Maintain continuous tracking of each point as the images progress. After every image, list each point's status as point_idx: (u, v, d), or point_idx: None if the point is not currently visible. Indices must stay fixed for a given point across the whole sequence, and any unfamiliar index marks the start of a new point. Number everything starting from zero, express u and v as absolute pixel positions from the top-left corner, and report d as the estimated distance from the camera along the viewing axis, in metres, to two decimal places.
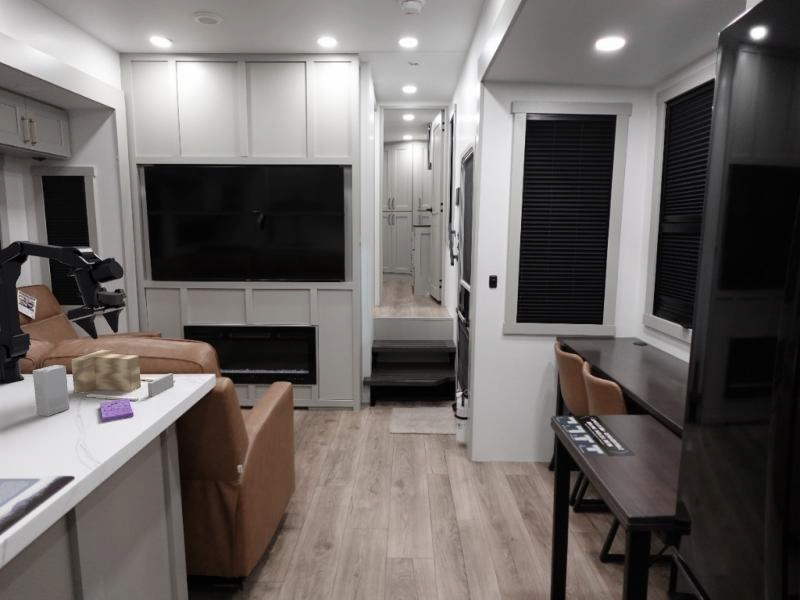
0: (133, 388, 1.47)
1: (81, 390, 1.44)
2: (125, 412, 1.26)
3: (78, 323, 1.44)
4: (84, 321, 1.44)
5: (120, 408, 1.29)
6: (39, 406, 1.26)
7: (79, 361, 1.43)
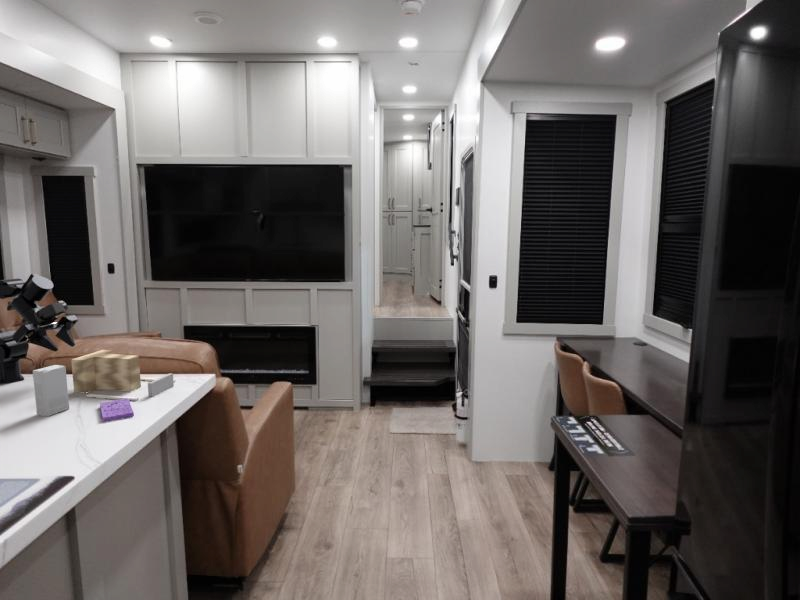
0: (133, 388, 1.47)
1: (81, 390, 1.44)
2: (125, 412, 1.26)
3: (34, 342, 1.46)
4: (38, 338, 1.46)
5: (120, 408, 1.29)
6: (39, 406, 1.26)
7: (79, 361, 1.43)
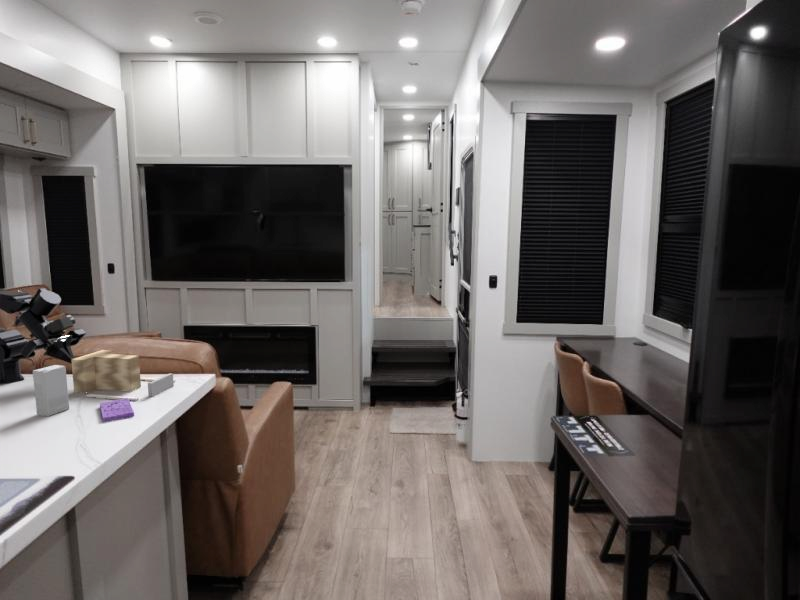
0: (133, 388, 1.47)
1: (81, 390, 1.44)
2: (125, 412, 1.27)
3: (50, 355, 1.49)
4: (55, 351, 1.49)
5: (120, 408, 1.29)
6: (39, 406, 1.26)
7: (79, 361, 1.43)
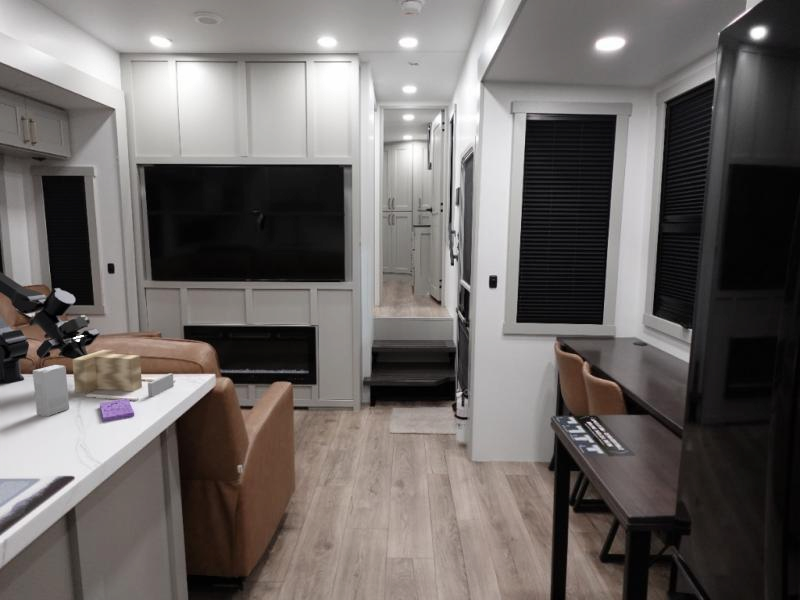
0: (134, 388, 1.47)
1: (82, 390, 1.44)
2: (126, 412, 1.27)
3: (65, 355, 1.48)
4: (70, 351, 1.48)
5: (120, 408, 1.29)
6: (39, 406, 1.26)
7: (80, 361, 1.43)
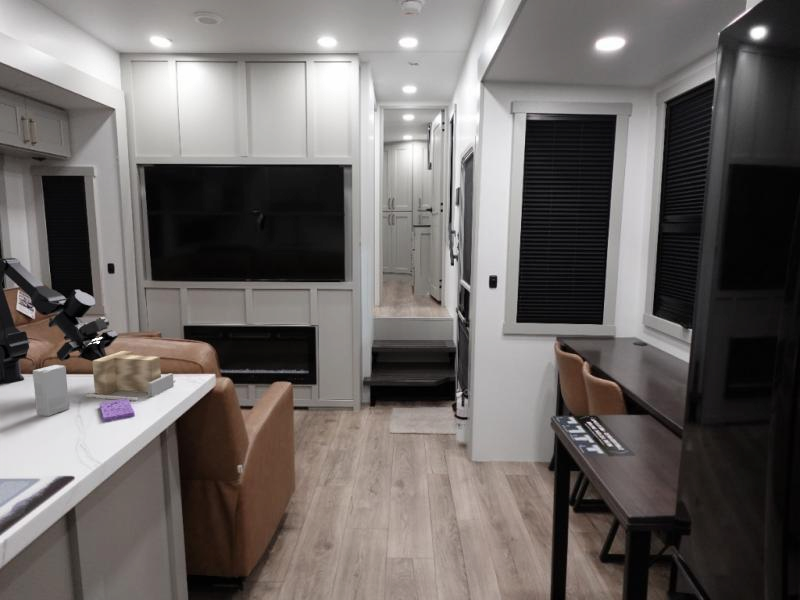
0: None
1: (102, 391, 1.43)
2: (126, 412, 1.27)
3: (85, 357, 1.47)
4: (89, 353, 1.47)
5: (120, 408, 1.29)
6: (39, 406, 1.26)
7: (100, 362, 1.42)
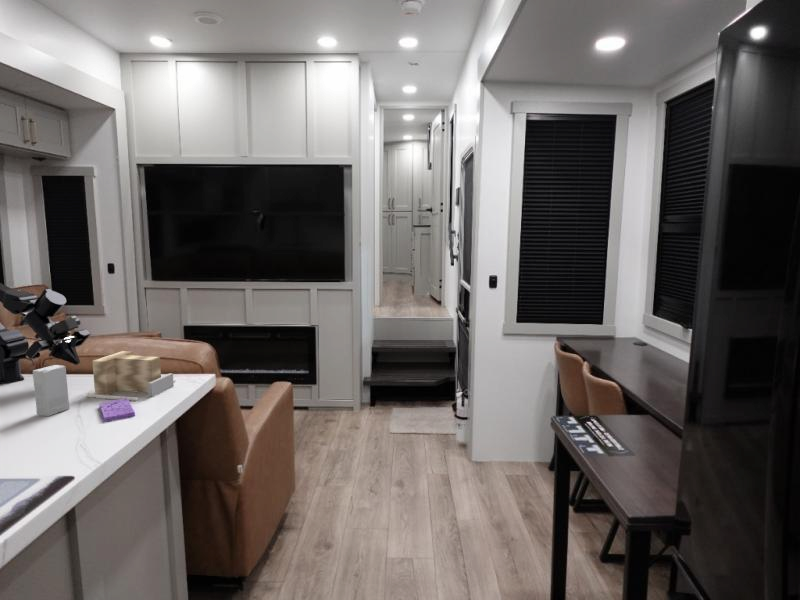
0: None
1: (102, 392, 1.43)
2: (126, 412, 1.27)
3: (55, 356, 1.49)
4: (60, 352, 1.49)
5: (120, 408, 1.29)
6: (39, 406, 1.26)
7: (100, 362, 1.42)
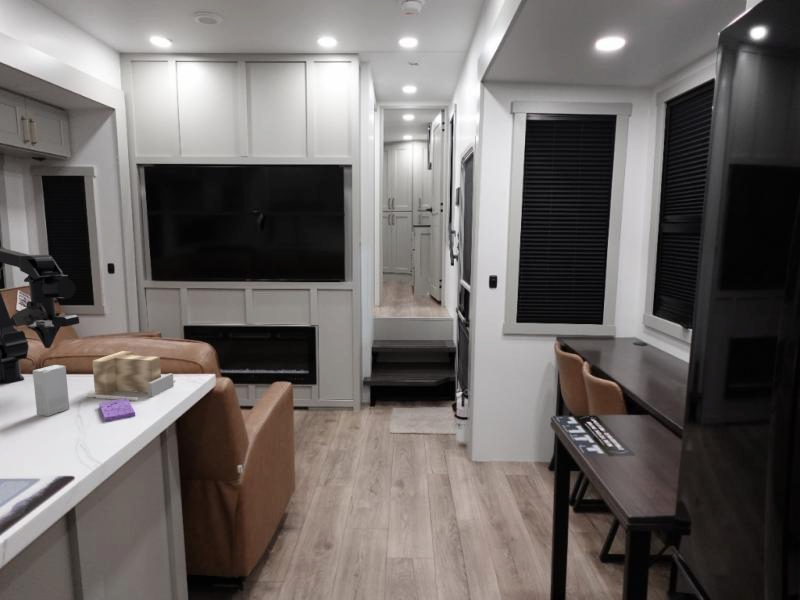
0: None
1: (102, 392, 1.43)
2: (126, 412, 1.27)
3: None
4: None
5: (121, 408, 1.29)
6: (39, 406, 1.26)
7: (100, 362, 1.42)
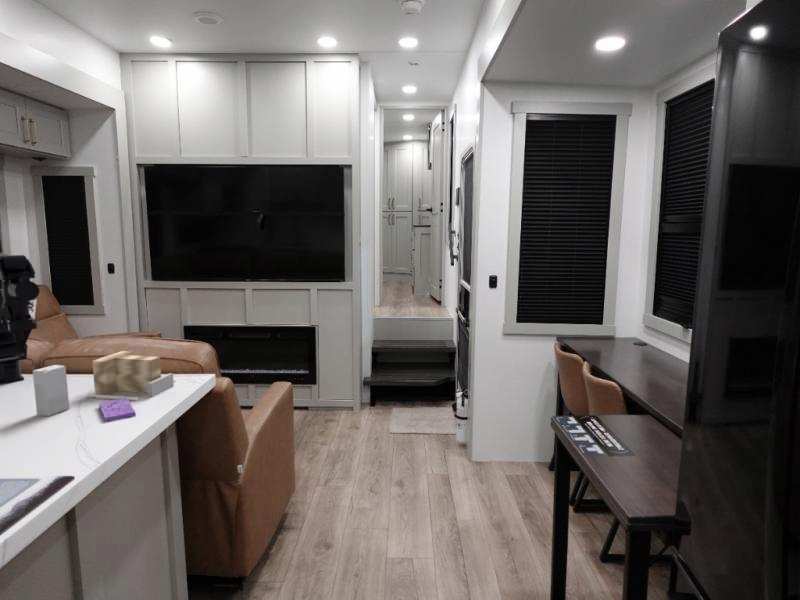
0: None
1: (102, 392, 1.43)
2: (127, 412, 1.27)
3: None
4: None
5: (121, 408, 1.29)
6: (39, 406, 1.26)
7: (100, 362, 1.42)
